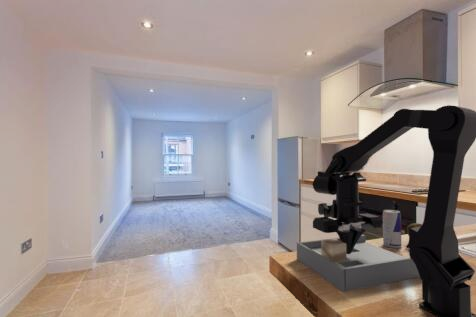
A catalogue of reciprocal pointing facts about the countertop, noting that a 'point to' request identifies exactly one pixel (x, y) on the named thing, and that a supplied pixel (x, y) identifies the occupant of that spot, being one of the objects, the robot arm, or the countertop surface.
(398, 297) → the countertop surface
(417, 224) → the potato
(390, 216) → the energy drink
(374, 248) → the box
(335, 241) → the birch block
